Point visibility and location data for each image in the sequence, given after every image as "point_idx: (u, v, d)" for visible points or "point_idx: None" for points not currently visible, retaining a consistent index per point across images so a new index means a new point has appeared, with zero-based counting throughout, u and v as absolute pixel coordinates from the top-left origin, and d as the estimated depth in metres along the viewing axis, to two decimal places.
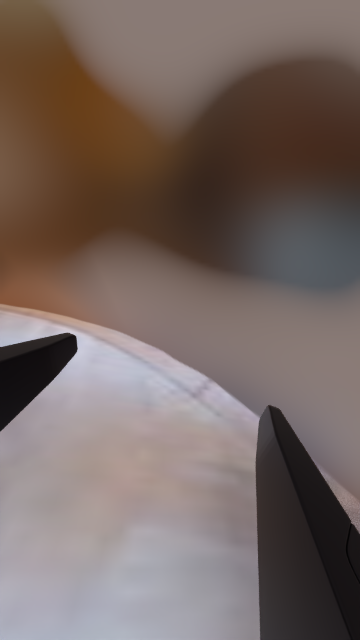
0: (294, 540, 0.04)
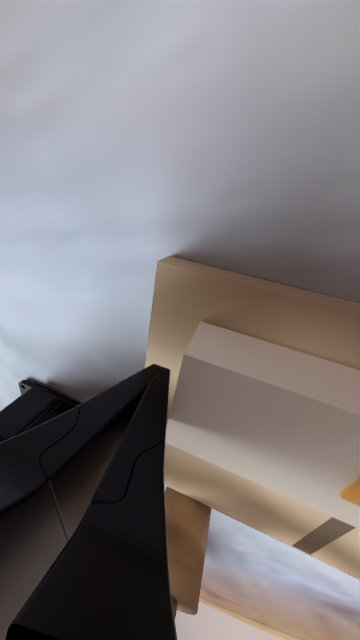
0: None
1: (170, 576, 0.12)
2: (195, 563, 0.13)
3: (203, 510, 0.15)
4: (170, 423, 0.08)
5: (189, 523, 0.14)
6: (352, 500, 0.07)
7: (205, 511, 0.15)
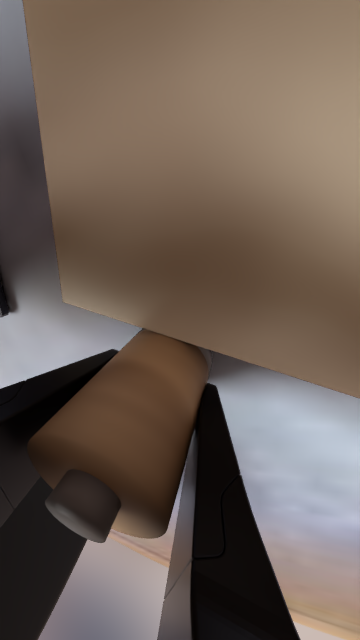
0: (190, 491, 0.05)
1: (94, 424, 0.04)
2: (168, 419, 0.05)
3: (192, 357, 0.08)
4: None
5: (159, 361, 0.07)
6: None
7: (196, 361, 0.08)
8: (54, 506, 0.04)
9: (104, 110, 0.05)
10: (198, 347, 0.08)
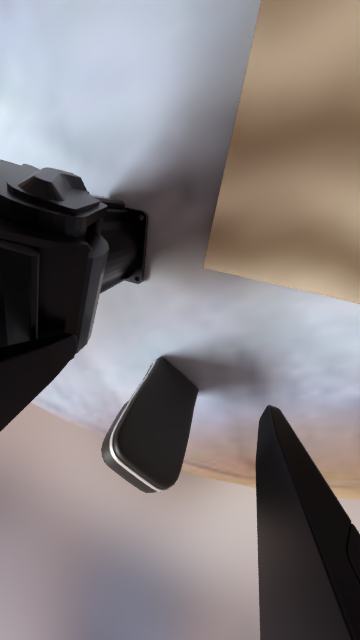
0: (294, 540, 0.04)
1: None
2: None
3: None
4: None
5: None
6: None
7: None
8: None
9: (256, 182, 0.13)
10: None
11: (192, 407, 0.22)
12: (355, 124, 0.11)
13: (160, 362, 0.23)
